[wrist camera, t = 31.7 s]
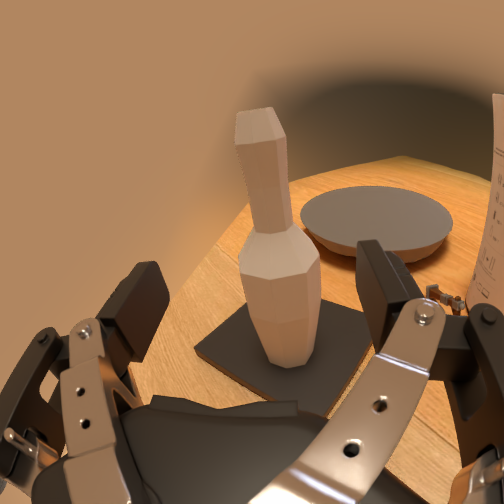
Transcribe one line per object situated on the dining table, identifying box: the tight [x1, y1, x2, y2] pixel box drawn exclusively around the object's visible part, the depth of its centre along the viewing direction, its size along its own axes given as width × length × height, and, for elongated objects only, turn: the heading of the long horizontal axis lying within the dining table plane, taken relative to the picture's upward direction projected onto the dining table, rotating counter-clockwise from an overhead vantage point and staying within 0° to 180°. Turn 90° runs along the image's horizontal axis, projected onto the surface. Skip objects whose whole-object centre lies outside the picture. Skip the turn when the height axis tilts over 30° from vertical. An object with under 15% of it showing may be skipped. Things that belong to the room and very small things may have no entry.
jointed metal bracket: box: [426, 284, 465, 316], centre depth 26 cm, size 2×8×4 cm, turn 175°
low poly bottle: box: [234, 107, 321, 368], centre depth 21 cm, size 6×6×22 cm
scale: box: [194, 299, 373, 418], centre depth 28 cm, size 16×14×3 cm
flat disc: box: [300, 186, 453, 263], centre depth 45 cm, size 28×28×4 cm
